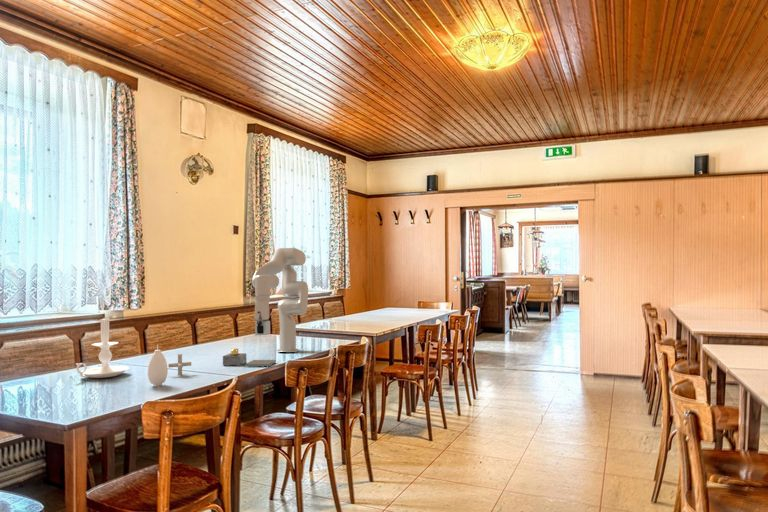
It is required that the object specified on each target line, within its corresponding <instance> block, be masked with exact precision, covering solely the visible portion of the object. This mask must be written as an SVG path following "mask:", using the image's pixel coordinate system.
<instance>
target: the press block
mask: <svg viewBox="0 0 768 512" xmlns="http://www.w3.org/2000/svg"><path fill="white" fill-rule="evenodd" d="M245 362H246V363H247V353H244V352H243V353H239V352H238V355H231V352H230V353H227V354H225V355H223V356H222V366H223V365H241V364H243V363H245ZM246 363H245V364H246ZM243 365H244V364H243ZM241 366H242V365H241Z"/></svg>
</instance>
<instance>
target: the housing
mask: <svg viewBox="0 0 768 512" xmlns="http://www.w3.org/2000/svg"><path fill="white" fill-rule="evenodd" d="M254 332H255V333H254V335H255V336H268V335H271V320H268V321H263V334H258V333H257V321H256V320H255V322H254Z"/></svg>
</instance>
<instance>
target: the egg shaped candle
mask: <svg viewBox="0 0 768 512" xmlns="http://www.w3.org/2000/svg"><path fill="white" fill-rule="evenodd" d="M156 346H157V347H156V349H155V350H153V351H154V353H153V354H151V357H150V360H149V361H148V366H147V377H148V380H149V382H150V384H152V386H154V387H161V386H163V383H165V382H166V379H167V378H168V374H169V373H168V370H169V367H168V363H167V359H166V358H165V355H164V354H163V353H162V350H161V349H159V344H158V343H157V344H156Z"/></svg>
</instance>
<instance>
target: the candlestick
mask: <svg viewBox="0 0 768 512" xmlns="http://www.w3.org/2000/svg"><path fill="white" fill-rule="evenodd" d="M109 338H111V337H110V317H108V318H102V319H101V318H100V340H101V342H94V343H91V346H95V347H98V348H100V351H99V353H98V356H97V357H98V359H99V361H100V363H102V365H101V366H97V367H91V368H88V366H87V364H86V363H84V362H80V363H77V362H76V363H75V365H76V372H77V373H78V374H79V376H80V378H86V377H88V378H93V379H106V378H112V377H116V376H119V375H122V374H124V373H125V372H126V371H128V370H129V369H130V367H129V366H126V365H109V362H110V361H111V359H112V358H113V353H112V352H111V350H110V348H111V347H113V346H115V345H117V344H119V341H109ZM82 365H83V366H84V369H83V370H81V371H80V366H82Z"/></svg>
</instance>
